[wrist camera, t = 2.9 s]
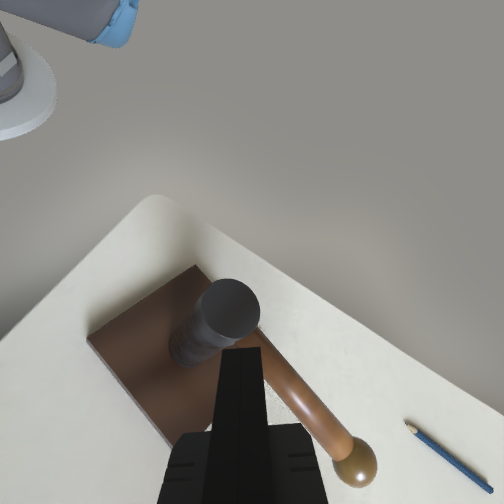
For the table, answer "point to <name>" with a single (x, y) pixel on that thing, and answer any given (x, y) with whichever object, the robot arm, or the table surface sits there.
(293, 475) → the robot arm
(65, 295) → the table surface
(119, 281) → the table surface
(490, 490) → the pencil
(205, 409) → the valve stand
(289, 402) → the handle
